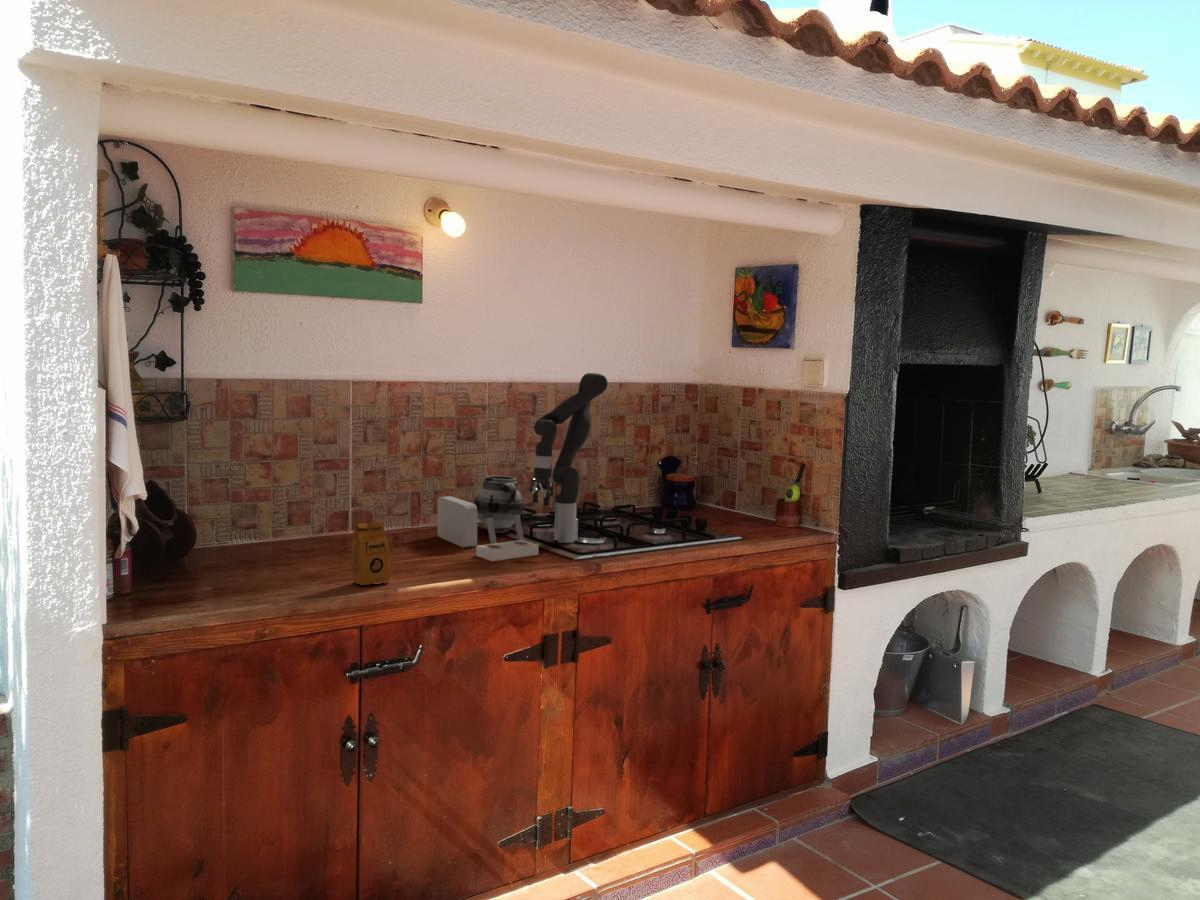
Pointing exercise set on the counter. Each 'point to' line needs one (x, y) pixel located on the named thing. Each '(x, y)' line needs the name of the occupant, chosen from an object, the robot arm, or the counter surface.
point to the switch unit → (507, 550)
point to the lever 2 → (518, 523)
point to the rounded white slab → (457, 521)
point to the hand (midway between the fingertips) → (540, 504)
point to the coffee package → (370, 554)
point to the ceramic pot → (499, 501)
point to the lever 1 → (490, 527)
